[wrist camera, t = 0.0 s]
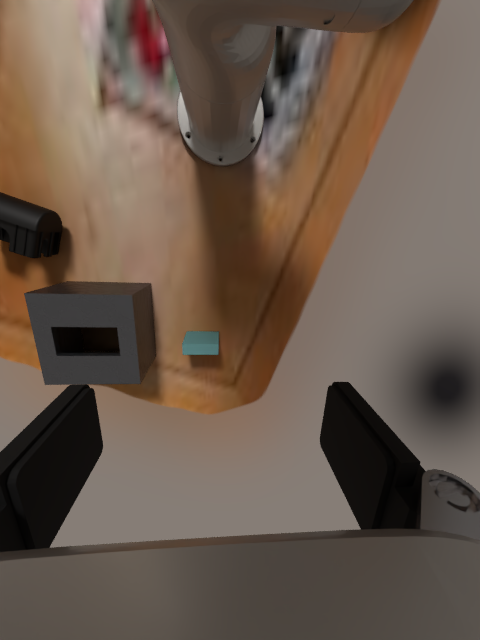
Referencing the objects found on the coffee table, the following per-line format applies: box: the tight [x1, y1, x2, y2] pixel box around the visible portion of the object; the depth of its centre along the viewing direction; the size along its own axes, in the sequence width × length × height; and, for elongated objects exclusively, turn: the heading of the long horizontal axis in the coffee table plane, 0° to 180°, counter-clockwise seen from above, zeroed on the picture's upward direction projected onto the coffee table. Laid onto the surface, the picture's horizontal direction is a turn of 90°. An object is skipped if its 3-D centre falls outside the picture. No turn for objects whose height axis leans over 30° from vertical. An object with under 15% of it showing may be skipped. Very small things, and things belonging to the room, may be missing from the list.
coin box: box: [24, 281, 156, 385], centre depth 41 cm, size 14×14×10 cm
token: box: [182, 331, 219, 355], centre depth 45 cm, size 2×6×6 cm, turn 88°
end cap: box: [0, 192, 62, 258], centre depth 37 cm, size 10×7×7 cm
